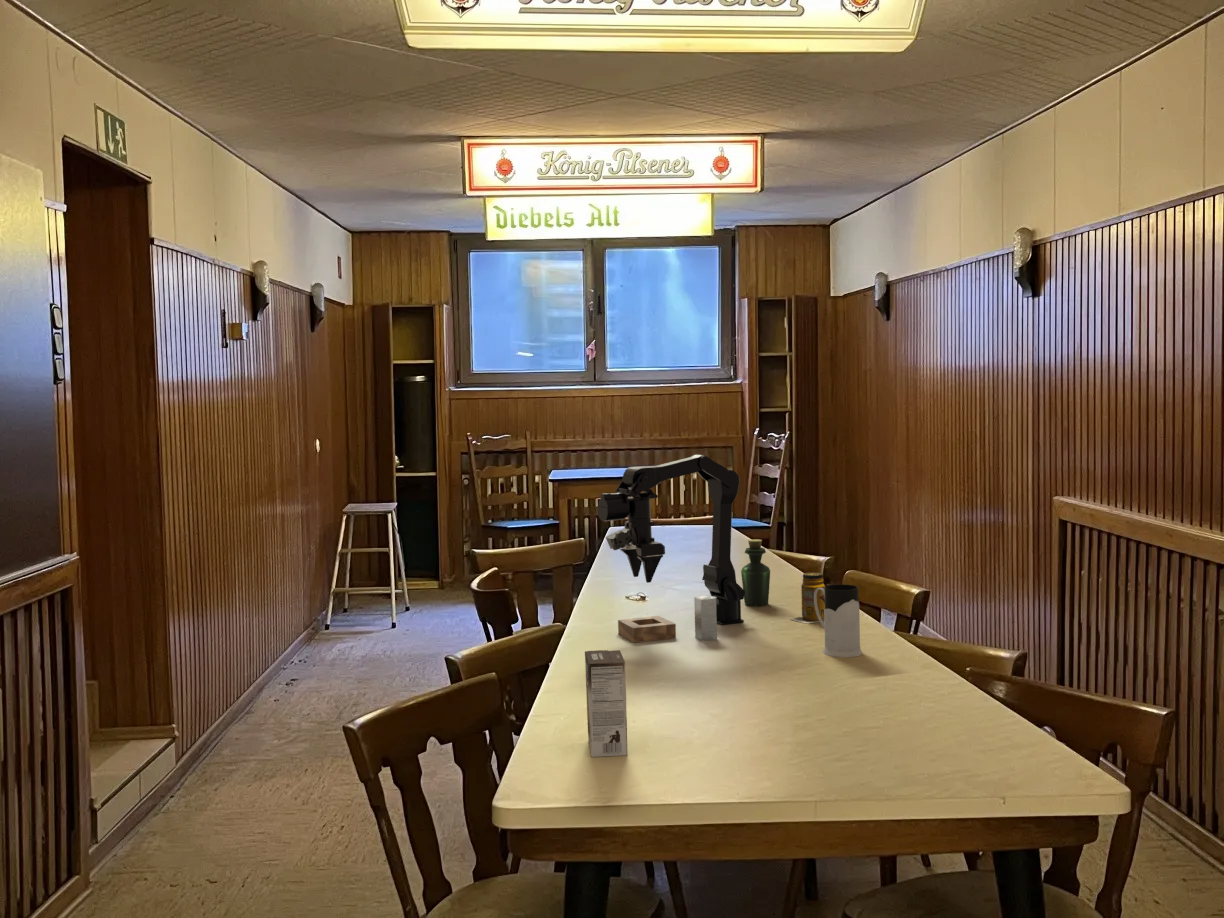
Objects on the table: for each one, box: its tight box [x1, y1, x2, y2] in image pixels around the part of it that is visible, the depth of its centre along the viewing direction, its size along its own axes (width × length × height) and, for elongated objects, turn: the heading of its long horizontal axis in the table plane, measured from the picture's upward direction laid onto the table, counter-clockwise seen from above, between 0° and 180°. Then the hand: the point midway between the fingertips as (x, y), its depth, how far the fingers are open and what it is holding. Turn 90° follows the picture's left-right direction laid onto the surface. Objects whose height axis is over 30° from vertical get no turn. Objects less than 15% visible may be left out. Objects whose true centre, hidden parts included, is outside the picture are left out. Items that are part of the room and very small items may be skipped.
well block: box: [617, 615, 677, 643], centre depth 281 cm, size 11×11×4 cm
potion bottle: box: [740, 538, 771, 607], centre depth 317 cm, size 8×8×18 cm
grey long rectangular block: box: [693, 595, 718, 642], centre depth 277 cm, size 4×4×10 cm
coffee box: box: [584, 649, 628, 758], centre depth 195 cm, size 9×6×16 cm
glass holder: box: [814, 583, 863, 658], centre depth 260 cm, size 9×14×15 cm, turn 27°
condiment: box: [789, 571, 826, 624], centre depth 294 cm, size 7×8×12 cm
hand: (642, 579), depth 283 cm, fingers open, 9 cm apart
